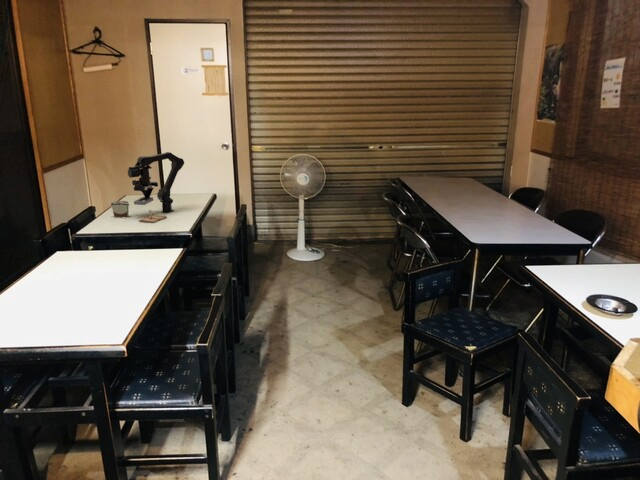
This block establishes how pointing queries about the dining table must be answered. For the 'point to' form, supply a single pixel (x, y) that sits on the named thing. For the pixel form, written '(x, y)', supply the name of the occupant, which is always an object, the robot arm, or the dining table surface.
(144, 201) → the steel link
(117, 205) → the food container
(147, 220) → the keeper board
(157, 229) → the dining table surface
